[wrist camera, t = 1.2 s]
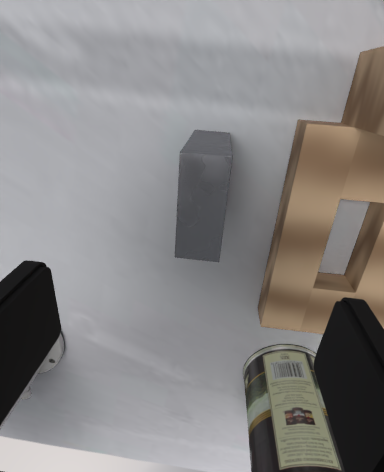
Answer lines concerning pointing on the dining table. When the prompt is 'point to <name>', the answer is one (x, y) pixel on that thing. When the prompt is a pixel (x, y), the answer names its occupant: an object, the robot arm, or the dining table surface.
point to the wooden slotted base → (330, 211)
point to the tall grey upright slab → (202, 195)
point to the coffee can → (287, 413)
